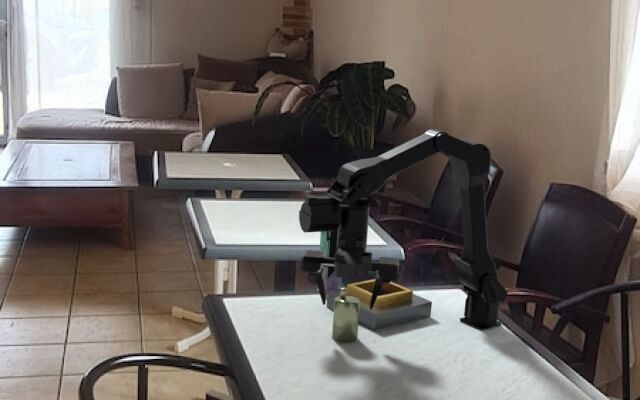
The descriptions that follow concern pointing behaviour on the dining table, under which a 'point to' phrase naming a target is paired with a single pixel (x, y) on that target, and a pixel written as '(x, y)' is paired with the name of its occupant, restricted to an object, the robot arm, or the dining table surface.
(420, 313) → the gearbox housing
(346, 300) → the spout can
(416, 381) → the dining table surface
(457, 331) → the dining table surface
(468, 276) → the robot arm
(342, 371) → the dining table surface
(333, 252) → the spray can
